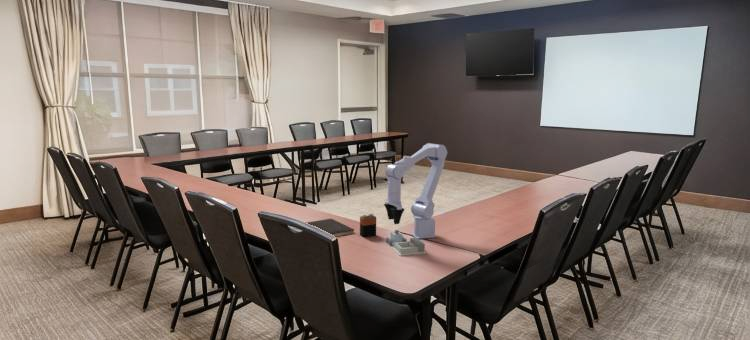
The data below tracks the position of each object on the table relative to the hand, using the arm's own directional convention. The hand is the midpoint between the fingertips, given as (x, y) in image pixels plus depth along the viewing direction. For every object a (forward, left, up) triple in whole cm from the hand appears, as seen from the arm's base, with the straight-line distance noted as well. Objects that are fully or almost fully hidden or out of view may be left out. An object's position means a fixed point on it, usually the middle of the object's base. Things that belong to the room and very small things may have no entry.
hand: (393, 221), depth 200 cm
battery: (+8, -13, -10) cm, 18 cm away
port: (-3, +12, -10) cm, 15 cm away
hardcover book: (+24, -27, -11) cm, 38 cm away
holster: (-1, +1, -10) cm, 10 cm away
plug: (-1, +1, -10) cm, 10 cm away
